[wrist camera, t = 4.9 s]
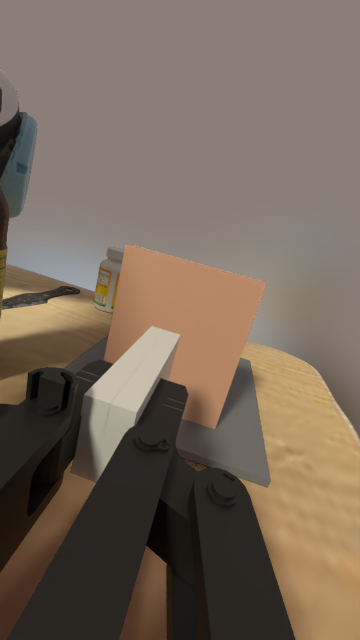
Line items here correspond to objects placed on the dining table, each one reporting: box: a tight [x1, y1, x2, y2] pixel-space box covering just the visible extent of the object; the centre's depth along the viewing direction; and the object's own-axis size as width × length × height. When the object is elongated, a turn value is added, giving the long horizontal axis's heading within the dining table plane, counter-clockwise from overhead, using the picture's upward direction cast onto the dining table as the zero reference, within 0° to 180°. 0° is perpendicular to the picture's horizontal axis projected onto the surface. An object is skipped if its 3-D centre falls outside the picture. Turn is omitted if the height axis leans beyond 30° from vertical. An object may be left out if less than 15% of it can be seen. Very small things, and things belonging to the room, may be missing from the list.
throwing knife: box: [1, 286, 80, 309], centre depth 41 cm, size 4×20×1 cm, turn 165°
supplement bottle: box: [94, 247, 124, 313], centre depth 44 cm, size 5×5×10 cm
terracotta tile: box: [104, 245, 266, 429], centre depth 21 cm, size 2×10×12 cm, turn 80°
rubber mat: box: [64, 336, 271, 487], centre depth 29 cm, size 20×18×1 cm
